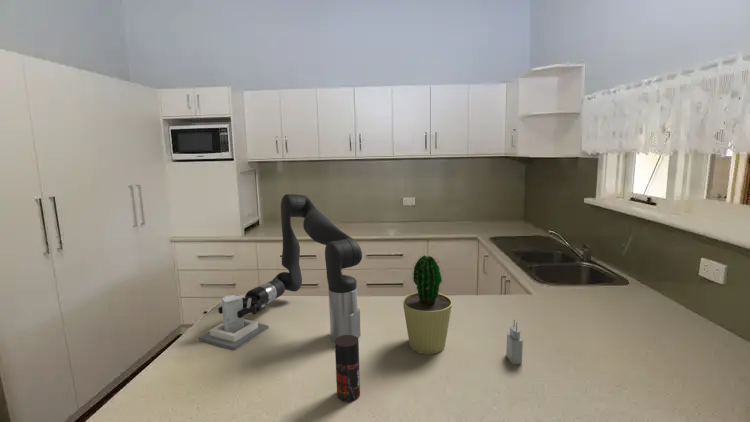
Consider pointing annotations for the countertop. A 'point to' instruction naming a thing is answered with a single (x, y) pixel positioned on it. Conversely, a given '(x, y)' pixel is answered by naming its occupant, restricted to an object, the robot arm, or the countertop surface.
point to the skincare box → (232, 313)
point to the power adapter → (514, 345)
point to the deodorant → (347, 368)
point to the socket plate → (233, 335)
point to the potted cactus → (427, 309)
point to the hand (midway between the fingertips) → (228, 313)
